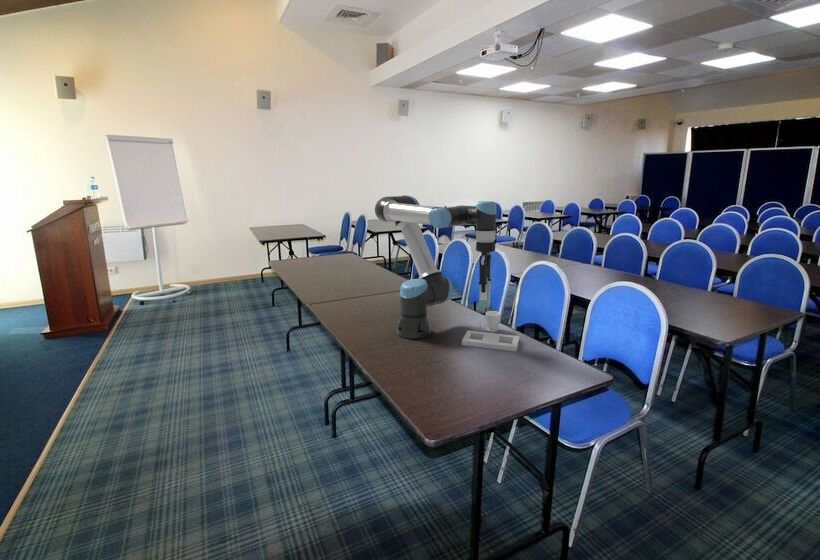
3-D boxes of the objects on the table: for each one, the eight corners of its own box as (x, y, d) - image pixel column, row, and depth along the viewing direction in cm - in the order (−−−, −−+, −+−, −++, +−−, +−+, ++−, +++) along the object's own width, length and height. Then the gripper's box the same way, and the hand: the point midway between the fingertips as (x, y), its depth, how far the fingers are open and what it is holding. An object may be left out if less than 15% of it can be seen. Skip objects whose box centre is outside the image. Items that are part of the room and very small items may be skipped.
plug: (478, 306, 170) (479, 278, 167) (480, 304, 173) (480, 276, 171) (488, 307, 168) (489, 279, 166) (490, 304, 172) (490, 277, 169)
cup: (503, 331, 186) (504, 314, 184) (482, 334, 183) (483, 316, 181) (495, 326, 193) (496, 309, 191) (475, 329, 190) (476, 312, 188)
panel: (461, 344, 172) (461, 340, 171) (467, 334, 183) (467, 330, 182) (516, 351, 165) (516, 346, 164) (519, 340, 176) (519, 336, 175)
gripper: (491, 244, 156) (490, 304, 161) (498, 238, 171) (496, 293, 177) (471, 243, 158) (471, 303, 163) (480, 238, 174) (479, 292, 179)
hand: (484, 298), depth 170 cm, fingers closed on plug, 4 cm apart
